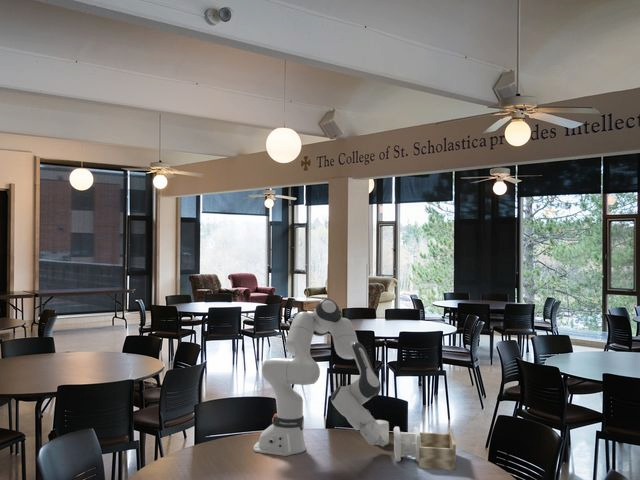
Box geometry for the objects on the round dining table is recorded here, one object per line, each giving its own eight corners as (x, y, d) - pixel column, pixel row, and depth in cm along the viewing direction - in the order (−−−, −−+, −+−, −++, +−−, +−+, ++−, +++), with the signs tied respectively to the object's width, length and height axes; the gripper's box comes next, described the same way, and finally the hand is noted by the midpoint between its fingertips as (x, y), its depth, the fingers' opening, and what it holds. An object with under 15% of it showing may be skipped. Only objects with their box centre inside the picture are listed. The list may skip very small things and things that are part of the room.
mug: (370, 445, 269) (370, 424, 269) (371, 437, 280) (371, 418, 280) (388, 445, 268) (388, 425, 268) (388, 438, 279) (388, 418, 279)
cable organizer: (420, 465, 245) (421, 436, 245) (394, 464, 246) (394, 435, 246) (417, 452, 260) (418, 425, 260) (392, 451, 261) (393, 424, 261)
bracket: (419, 467, 242) (419, 442, 242) (418, 450, 262) (418, 427, 262) (455, 470, 240) (455, 444, 240) (452, 452, 260) (452, 429, 260)
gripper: (364, 422, 245) (388, 447, 244) (368, 408, 266) (390, 432, 264) (353, 432, 246) (377, 458, 244) (357, 418, 266) (380, 442, 265)
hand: (384, 444), depth 254 cm, fingers closed
